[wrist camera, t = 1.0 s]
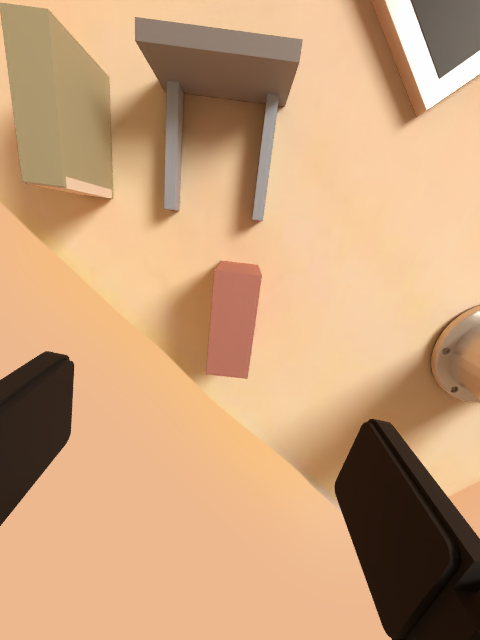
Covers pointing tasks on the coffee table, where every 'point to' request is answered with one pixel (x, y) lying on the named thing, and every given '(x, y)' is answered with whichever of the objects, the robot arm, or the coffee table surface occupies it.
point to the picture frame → (432, 45)
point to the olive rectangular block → (57, 105)
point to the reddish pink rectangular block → (233, 318)
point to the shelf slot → (217, 83)
